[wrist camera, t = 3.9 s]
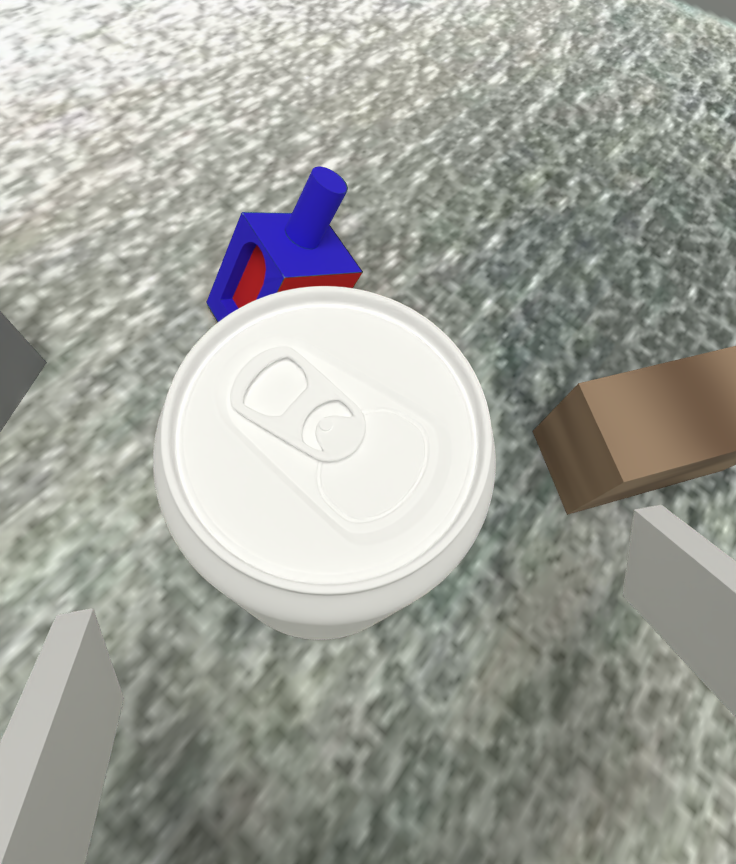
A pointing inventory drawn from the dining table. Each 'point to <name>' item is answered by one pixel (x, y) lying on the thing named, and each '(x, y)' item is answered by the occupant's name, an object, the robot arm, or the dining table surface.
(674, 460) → the walnut brick
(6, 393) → the grey cube
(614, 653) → the dining table surface
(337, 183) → the toy building block
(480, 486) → the beverage can
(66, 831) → the robot arm
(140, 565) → the dining table surface
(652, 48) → the dining table surface
